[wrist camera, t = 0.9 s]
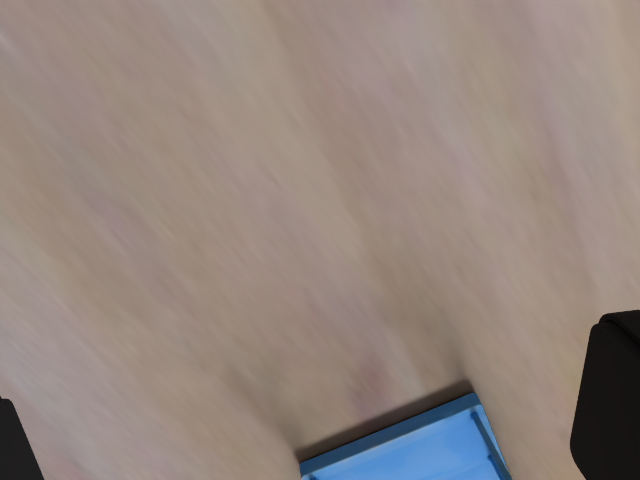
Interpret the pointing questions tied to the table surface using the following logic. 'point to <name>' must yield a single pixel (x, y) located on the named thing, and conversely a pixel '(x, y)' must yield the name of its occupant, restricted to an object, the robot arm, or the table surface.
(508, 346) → the table surface
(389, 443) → the file sorter
